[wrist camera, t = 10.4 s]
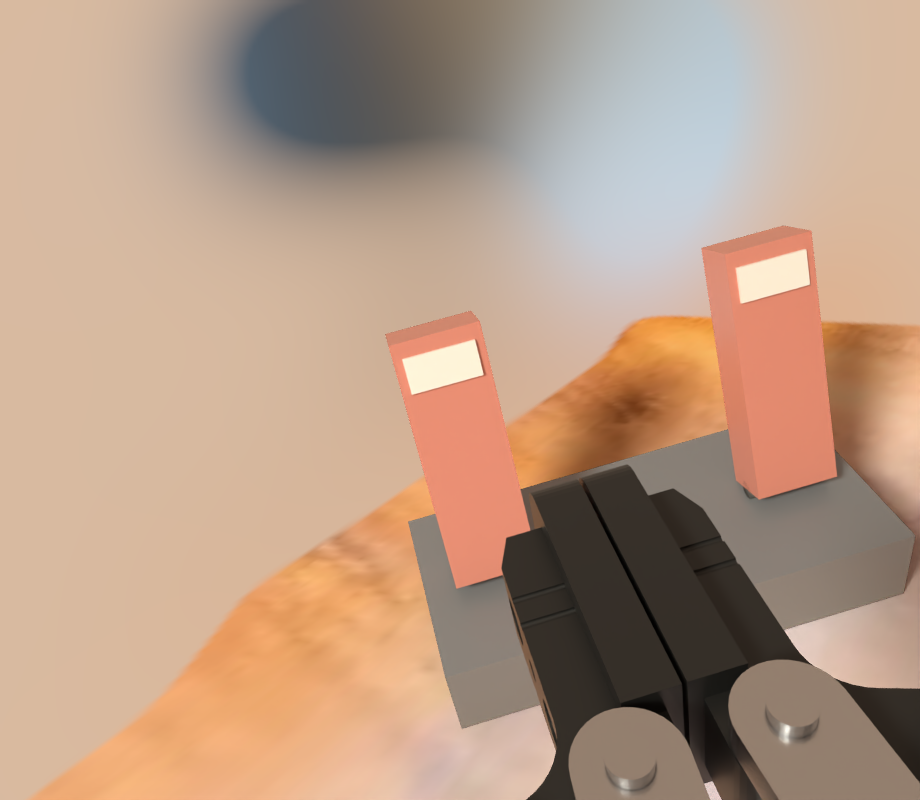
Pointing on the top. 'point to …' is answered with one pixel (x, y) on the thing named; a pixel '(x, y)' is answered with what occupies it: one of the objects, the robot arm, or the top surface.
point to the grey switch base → (742, 528)
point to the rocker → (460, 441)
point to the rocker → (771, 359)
